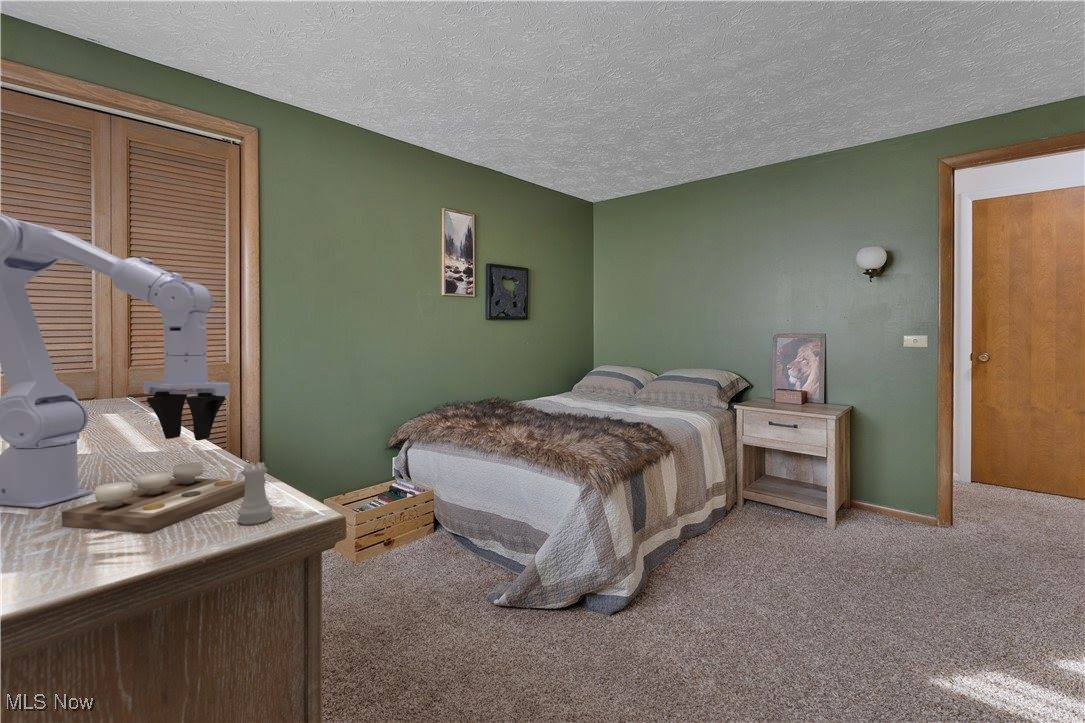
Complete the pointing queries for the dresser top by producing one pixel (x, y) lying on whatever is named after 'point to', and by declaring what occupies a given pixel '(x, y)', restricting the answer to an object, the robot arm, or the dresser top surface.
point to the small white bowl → (187, 471)
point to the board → (155, 506)
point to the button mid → (153, 481)
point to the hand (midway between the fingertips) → (187, 438)
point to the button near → (113, 493)
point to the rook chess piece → (254, 496)
